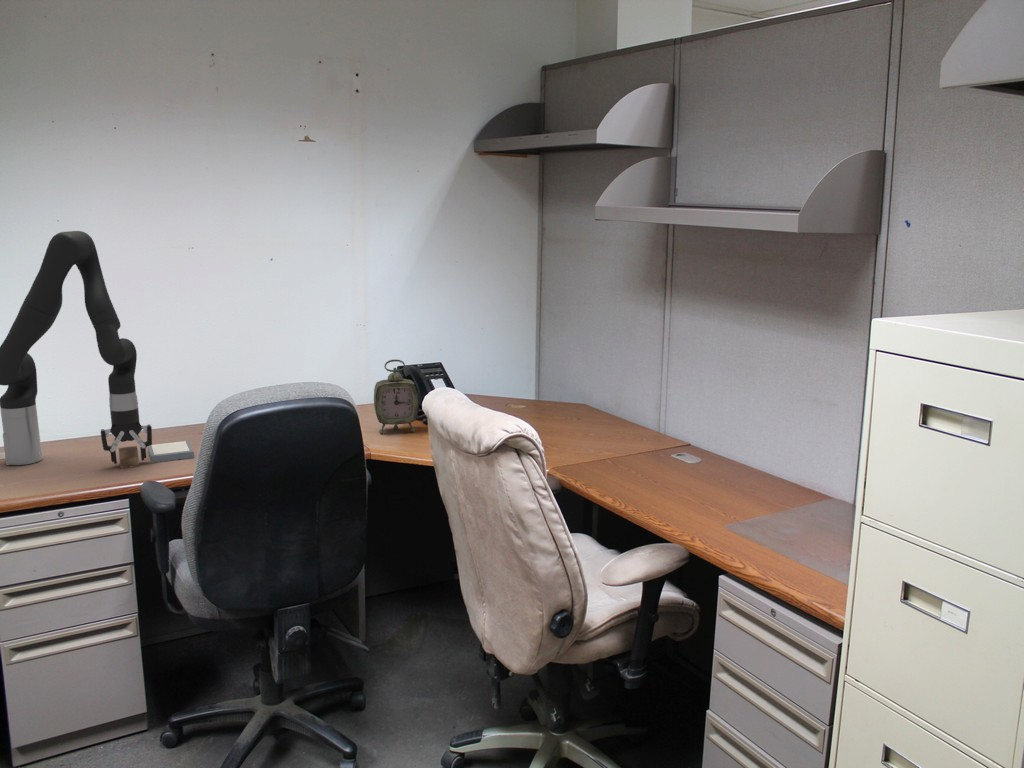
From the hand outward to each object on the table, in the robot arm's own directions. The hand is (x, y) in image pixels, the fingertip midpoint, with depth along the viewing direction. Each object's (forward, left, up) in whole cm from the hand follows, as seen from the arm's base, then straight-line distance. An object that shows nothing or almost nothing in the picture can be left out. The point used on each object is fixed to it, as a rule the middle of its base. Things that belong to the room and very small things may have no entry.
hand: (129, 461), depth 249 cm
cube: (0, 0, -1) cm, 1 cm away
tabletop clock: (+84, +2, -1) cm, 84 cm away
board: (+12, +6, -1) cm, 13 cm away
